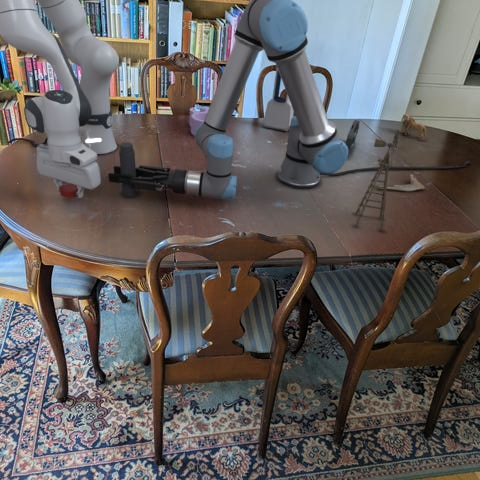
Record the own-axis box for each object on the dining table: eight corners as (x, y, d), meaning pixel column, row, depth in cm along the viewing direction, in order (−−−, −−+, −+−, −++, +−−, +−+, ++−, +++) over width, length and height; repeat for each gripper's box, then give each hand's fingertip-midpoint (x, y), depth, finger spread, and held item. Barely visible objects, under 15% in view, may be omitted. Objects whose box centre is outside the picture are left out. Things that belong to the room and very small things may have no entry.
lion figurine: (395, 132, 222) (400, 114, 217) (400, 130, 225) (405, 112, 220) (425, 142, 214) (431, 123, 209) (429, 139, 218) (435, 120, 213)
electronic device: (292, 127, 214) (303, 59, 198) (288, 132, 208) (299, 62, 192) (266, 122, 217) (275, 54, 201) (262, 127, 211) (270, 57, 194)
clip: (182, 123, 206) (183, 107, 202) (209, 122, 210) (210, 106, 207) (197, 140, 191) (197, 123, 187) (225, 138, 195) (226, 122, 191)
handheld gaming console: (349, 160, 187) (354, 136, 182) (342, 158, 188) (347, 134, 183) (355, 142, 206) (361, 119, 201) (349, 140, 207) (354, 118, 201)
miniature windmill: (382, 232, 141) (411, 137, 125) (354, 227, 142) (379, 132, 126) (381, 217, 149) (408, 126, 133) (354, 213, 150) (378, 122, 134)
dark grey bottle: (121, 191, 148) (117, 142, 139) (135, 189, 150) (132, 141, 141) (123, 197, 145) (119, 148, 136) (138, 196, 146) (135, 146, 137)
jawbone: (429, 189, 172) (431, 184, 171) (394, 201, 161) (396, 196, 160) (410, 177, 177) (412, 172, 176) (375, 189, 167) (376, 184, 165)
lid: (83, 193, 140) (82, 186, 139) (70, 200, 136) (69, 193, 135) (69, 188, 142) (69, 182, 141) (56, 194, 138) (55, 188, 137)
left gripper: (28, 145, 132) (35, 189, 140) (87, 162, 127) (91, 207, 134) (44, 139, 137) (50, 181, 145) (102, 155, 132) (105, 198, 139)
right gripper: (181, 206, 138) (103, 197, 139) (190, 181, 153) (120, 173, 153) (181, 184, 134) (101, 174, 135) (191, 160, 149) (119, 151, 149)
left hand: (70, 194), depth 139 cm, fingers closed on lid, 5 cm apart
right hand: (111, 173), depth 144 cm, fingers closed on dark grey bottle, 5 cm apart
